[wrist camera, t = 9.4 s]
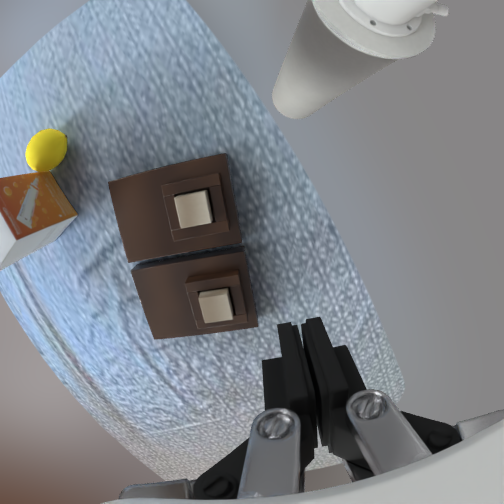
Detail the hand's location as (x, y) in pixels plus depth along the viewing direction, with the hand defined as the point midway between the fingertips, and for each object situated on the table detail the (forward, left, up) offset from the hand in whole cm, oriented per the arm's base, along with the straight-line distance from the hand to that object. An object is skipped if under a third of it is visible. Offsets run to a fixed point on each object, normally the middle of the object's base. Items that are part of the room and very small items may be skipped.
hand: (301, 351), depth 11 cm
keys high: (+10, +8, -25) cm, 28 cm away
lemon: (+25, -15, -25) cm, 38 cm away
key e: (+7, +8, -21) cm, 23 cm away
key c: (+7, -3, -21) cm, 23 cm away
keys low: (+10, -3, -25) cm, 27 cm away
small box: (+28, -8, -25) cm, 38 cm away
